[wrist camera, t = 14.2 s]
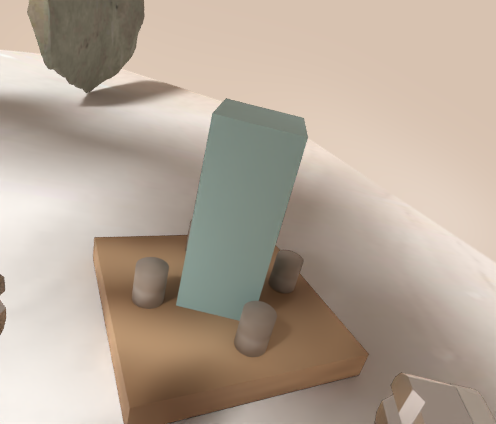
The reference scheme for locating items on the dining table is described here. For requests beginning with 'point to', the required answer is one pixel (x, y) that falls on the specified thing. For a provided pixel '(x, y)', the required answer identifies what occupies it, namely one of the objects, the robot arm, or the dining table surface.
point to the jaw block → (239, 206)
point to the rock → (86, 37)
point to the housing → (211, 335)
